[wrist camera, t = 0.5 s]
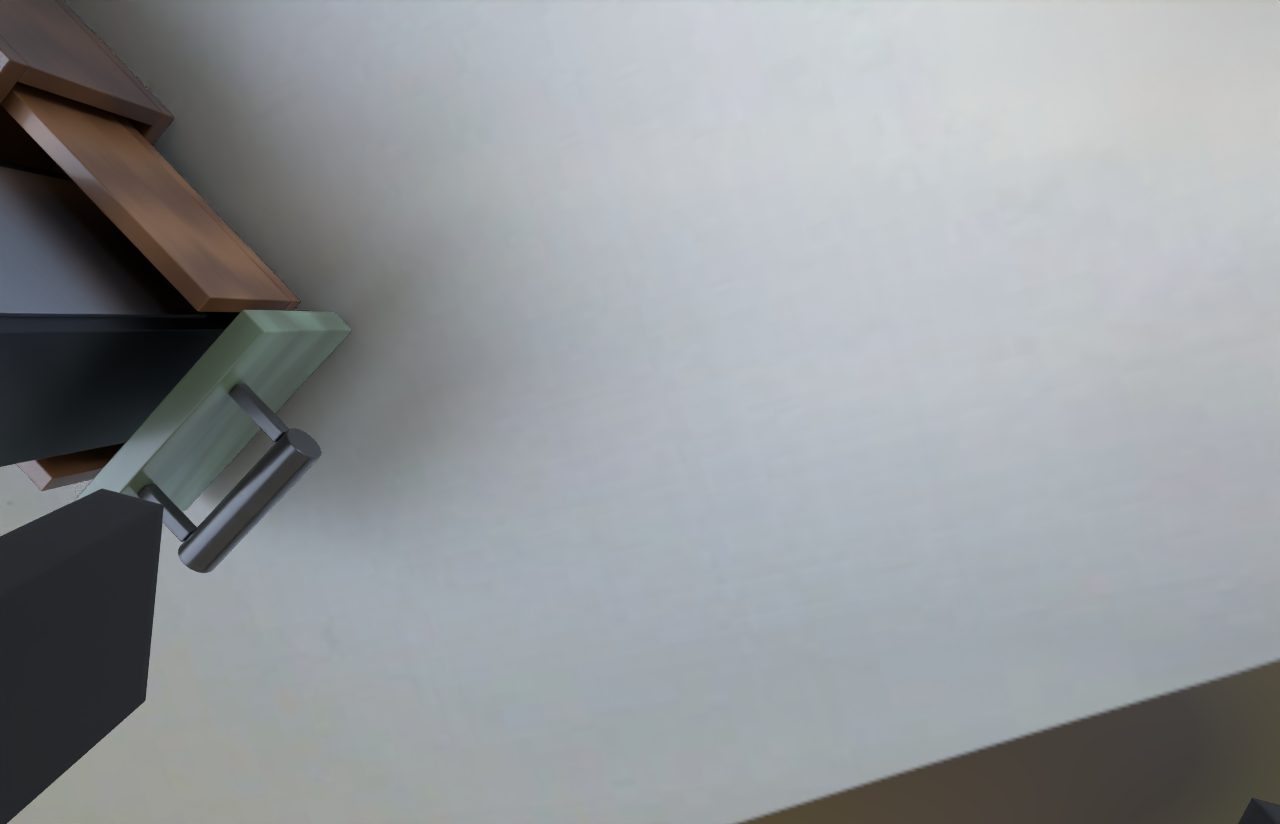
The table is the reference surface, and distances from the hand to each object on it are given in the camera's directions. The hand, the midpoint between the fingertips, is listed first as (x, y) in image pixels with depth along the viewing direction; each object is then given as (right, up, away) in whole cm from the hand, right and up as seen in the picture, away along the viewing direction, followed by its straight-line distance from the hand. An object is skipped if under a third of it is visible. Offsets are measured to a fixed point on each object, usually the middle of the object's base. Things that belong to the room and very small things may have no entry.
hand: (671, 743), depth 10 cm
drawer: (-22, +7, +28) cm, 37 cm away
